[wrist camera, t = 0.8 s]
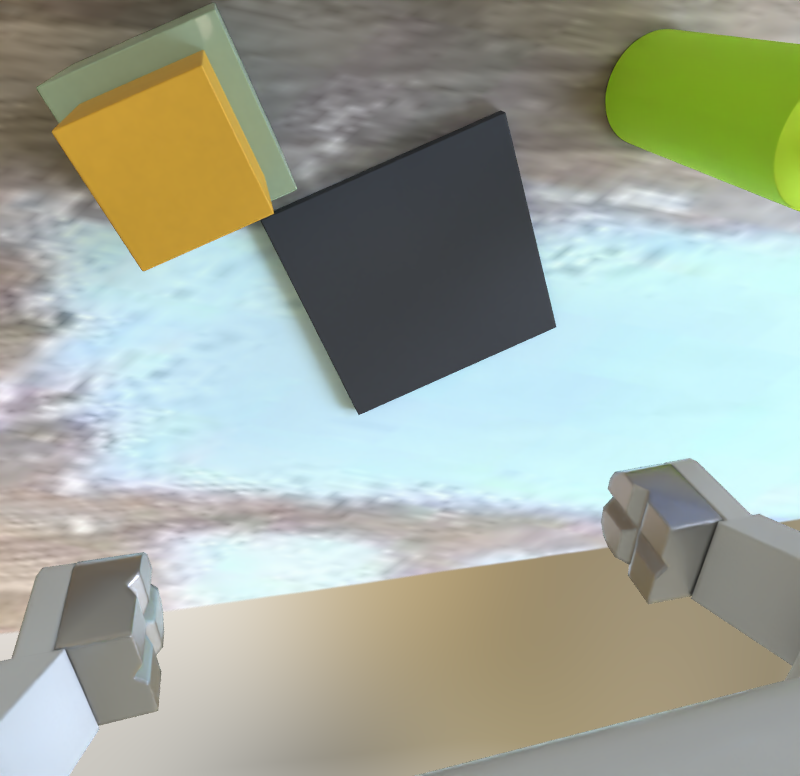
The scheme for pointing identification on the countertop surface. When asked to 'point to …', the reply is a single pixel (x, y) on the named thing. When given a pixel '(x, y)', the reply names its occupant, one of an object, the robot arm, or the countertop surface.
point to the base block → (161, 50)
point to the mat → (418, 263)
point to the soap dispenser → (714, 107)
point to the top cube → (167, 161)
